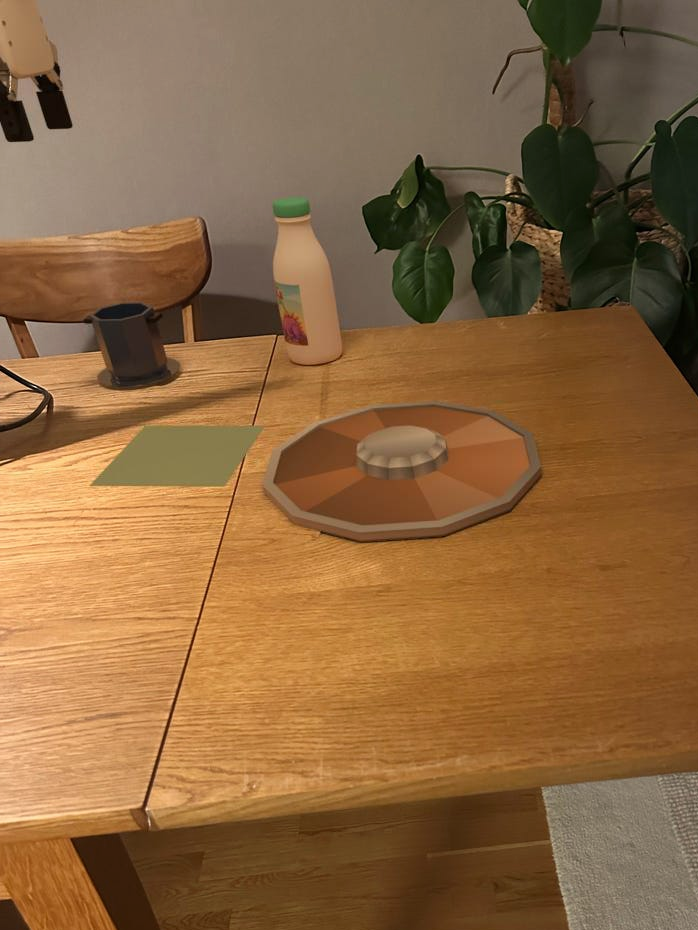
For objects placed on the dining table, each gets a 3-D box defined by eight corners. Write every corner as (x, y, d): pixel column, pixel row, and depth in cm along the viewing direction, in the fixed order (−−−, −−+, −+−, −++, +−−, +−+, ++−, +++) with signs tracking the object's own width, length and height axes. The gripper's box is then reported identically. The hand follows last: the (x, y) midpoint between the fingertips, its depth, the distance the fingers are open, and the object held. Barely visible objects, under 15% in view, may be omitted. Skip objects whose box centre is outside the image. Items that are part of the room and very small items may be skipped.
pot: (93, 381, 112) (72, 321, 107) (116, 361, 118) (98, 302, 113) (163, 381, 111) (145, 319, 106) (183, 360, 117) (167, 301, 112)
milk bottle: (337, 343, 122) (315, 191, 110) (348, 361, 116) (325, 202, 104) (284, 351, 120) (255, 197, 108) (292, 369, 115) (263, 209, 102)
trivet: (84, 392, 111) (82, 386, 111) (119, 362, 120) (117, 356, 119) (164, 392, 110) (162, 386, 110) (193, 361, 119) (191, 356, 118)
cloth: (90, 487, 90) (89, 485, 90) (145, 428, 102) (144, 425, 101) (225, 488, 89) (224, 486, 88) (265, 427, 100) (264, 425, 100)
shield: (316, 380, 102) (560, 390, 97) (320, 405, 104) (559, 416, 99) (206, 503, 80) (517, 525, 74) (215, 532, 82) (517, 555, 76)
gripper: (-7, -45, 98) (47, 125, 109) (-98, -46, 85) (-27, 148, 95) (54, -48, 97) (101, 123, 108) (-29, -50, 84) (35, 145, 95)
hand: (41, 134), depth 102 cm, fingers open, 9 cm apart
